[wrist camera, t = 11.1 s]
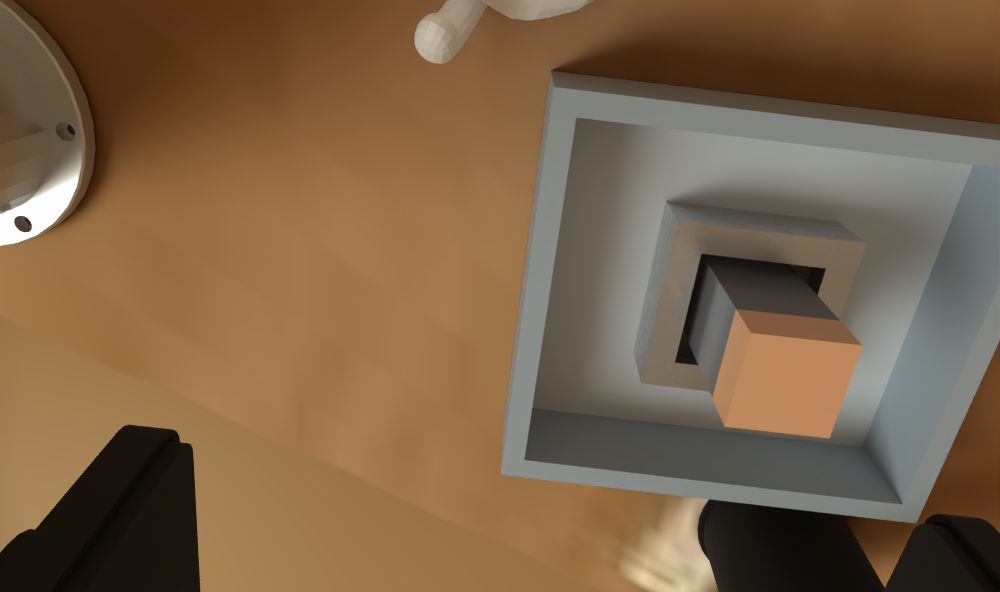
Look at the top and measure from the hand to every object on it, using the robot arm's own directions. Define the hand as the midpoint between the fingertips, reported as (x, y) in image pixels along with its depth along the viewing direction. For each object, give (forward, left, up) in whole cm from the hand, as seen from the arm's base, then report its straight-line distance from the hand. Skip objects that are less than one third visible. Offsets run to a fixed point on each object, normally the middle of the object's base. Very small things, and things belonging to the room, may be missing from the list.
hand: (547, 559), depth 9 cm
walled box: (+10, -6, -25) cm, 28 cm away
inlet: (+10, -6, -25) cm, 27 cm away
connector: (+10, -6, -25) cm, 27 cm away
